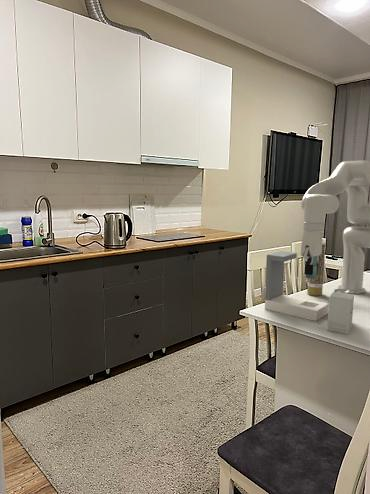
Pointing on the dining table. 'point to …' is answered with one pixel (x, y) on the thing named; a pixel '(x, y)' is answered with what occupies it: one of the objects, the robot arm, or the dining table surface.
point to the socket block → (285, 302)
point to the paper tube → (317, 276)
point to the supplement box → (340, 312)
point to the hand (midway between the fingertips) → (311, 273)
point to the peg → (313, 268)
